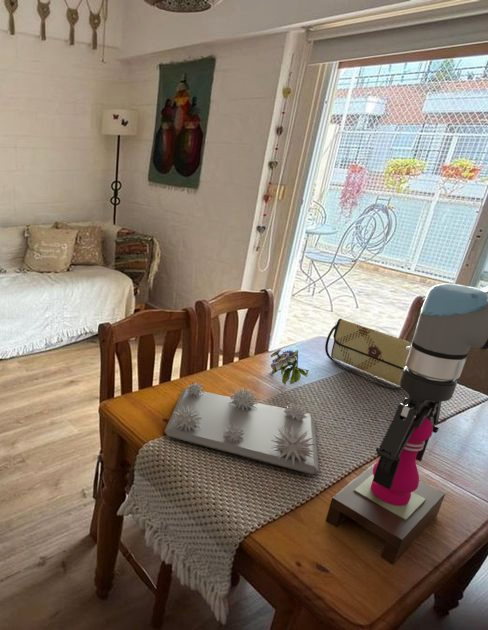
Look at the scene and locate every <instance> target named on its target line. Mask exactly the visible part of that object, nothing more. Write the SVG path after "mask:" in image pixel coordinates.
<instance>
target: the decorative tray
mask: <svg viewBox="0 0 488 630" xmlns="http://www.w3.org/2000/svg"><path fill="white" fill-rule="evenodd" d="M198 383H199V381H197V382H196V381H194V382H193V381H191V382H188V384H189V385H187V384H186V386H187V387H186V388H184V389H182V391H181V393H180V396H179V398H178V400H177V402H176V404H175V406H174V409H173V411H172V413H171V416H170V418H169V420H168V423H167V424H166V427H165V429H164V433H165V434H166V436H167V437H169V438H171V439H175V440H178V441H183V442H187V443H191V444H194V445H198V446H202V447H206V448H210V449H212V450H217V451H220V452H226V453H229V454H232V455H236V456H240V457H244V458H248V459H251V460H255V461H258V462H263V463H266V464H271V465H275V466H278V467H282V468H285V469H290V470H293V471H296V472H301V473H305V474H307V475H315V474H318V473H319V472H320V469H319V468H320V467H319V459H318V458H319V455H318V444H317V434H316V432H317V431H316V422H315V421H316V420H315V418H314V417H313V415H311V413H308V412H307V408H304V405H302V406H300V403H297V405H296V402H294V404H293V403H291V402H289V405H287V404H286V408H285V407H278V406H274V405H270V404H265V403H261V402H257V401H256V400H259V398H258V397H257V396H256V395H257V393H255V392H254V389H253V390H251V391H249V387H247V388H246V387H244V386H242V390H241V388H240V387H239V386H237V389H238V391H237V390H235V389H233V391H234V393H232V392H230V395H231V396H227V395H223V394H218V393H214V392H209V391H205V390H204V389H203V385H202V384H201V383H199V384H198ZM254 393H255V394H254Z"/></svg>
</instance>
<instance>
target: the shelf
mask: <svg viewBox="0 0 488 630" xmlns="http://www.w3.org/2000/svg"><path fill="white" fill-rule="evenodd" d="M375 464H376V462H374V463H373V464H371V465H370V466H369V467H368V468H367V469H365V470H364V471H363V472H362V473H360V474H359V475H358V476H357V477H356V478H354V479H353V480H351V481H350V482H349V483H348V484H347V485H346V486H344V487H343V488H341V490H340V491H338V492H336V494H334V495H333V496H332V497H331V500H330V503H329V508H328V511H327V515H326V518H325V521H326V522H327V523H329V524H330V525H331V526H333V527H335V528H337V527H338V526H339V525H340V524H341V523H343V521H345V520H346V519H347V518H350V519H351V520H352V521H354V522H356V523H358V524H360V525H361V526H363V527H364V528H366V529H367V530H369V531H371V532H372V533H374V534H376V535H377V536H379V537H381V538H382V539H383V540H385V543H384V547H383V549H382V553H381V556H380V557H381V558H382V559H383V560H385V561H387V562H388V563H390V564H391V565H395V563H397V561H398V560H399V559H400V558H401V557H402V556H403V554H404V553H406V552H407V550H408V549H409V548H410V547H411V546H412V545H413V543H414V542H415V541H416V540H417V539H418V538H419V536H421V534H422V533H423V532H424V531H425V530H426V529H427V528H428V527H429V525H431V524H432V522H433V521H434V520H435V519H436V518H437V516H438V514H439V512H440V509H441V508H442V504H443V501H444V499H445V496H446V492H444V491H442V490H440V489H439V488H437V487H435V486H432V485H431V484H429V483H427V482H424V481H423V480H420V479H419V484H418V488H417V489H416V490H415V491H413V492H411V497H410V500H409V503H408V504H406V505H403V506H397V505H392V504H389V503H387V502H384V501H383V500H381V499H379V498H378V497H377V496H375V495H374V493H373V492H372V490H371V484H372V481H373V478H374V475H373V468H374V465H375Z"/></svg>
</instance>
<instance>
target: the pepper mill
mask: <svg viewBox="0 0 488 630" xmlns="http://www.w3.org/2000/svg"><path fill="white" fill-rule="evenodd" d="M414 422H416V421H414ZM433 433H434V432H433V426H432V423H431V422H430V420H429V419H428V418H425V419H424V421H423V423H422V425H421V426H420V428H418V429H415V430H414V431H413V433H412V435H411V437H410V438H409V440H408V442H407V444H406V446H405V447H404V449H403V451H402V453H401V454H400V456H399V458H400V462H399V465H398V468H397V471H396V474H395V477H394V480H393V483H392V486H391V488H390V489H387V488H385V487H384V486H382V485H380V484H378V483H376V482H374V481H372V484H371V490H372V492H373V493H374V495H375V496H377V497H378V498H379V499H381V500H383V501H384V502H387V503H389V504H392V505H397V506H403V505H406V504H408V503H409V500H410V497H411V492H413V491H415V490H416V489H417V488H418V484H419V480H420V474H419V471H418V470H419V469H418V466H417V460H416V456H417V453H418V451H421V450H422V449H423V446H424V445H425V440H427V439H429V440H430V438H431V437H432V436H433ZM378 462H379V459H377V461H375V463H376V464H375V465H374V468H373V475H375V472H376V469H377V466H378Z"/></svg>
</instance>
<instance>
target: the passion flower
mask: <svg viewBox="0 0 488 630" xmlns="http://www.w3.org/2000/svg"><path fill="white" fill-rule="evenodd" d="M282 350H283V349H282V348H279V349H277V350H276V351H274V352H273V353H272V354H270V358H273V357H275V356H276V357H275V358H274V359H272V363H271V364H270V368H271V369H272V370H271V371H270V374H271V375H273V374H276V373H277V372H278V371H280V374H281V375H282V377H281V383H282V384H283V385H284V386H286V385H287V382H288V381H289V380H290V381H289V385H293V384H295V383H298V382H299V381H300V380H301V378H302V376H304V377H305V378H307V377H308V374H309V371H310V369H306V368H305V369H304V368H300V367H299V350H297V349H296V350H295V351H294V350H285V351H282ZM281 351H282V353H281ZM301 375H302V376H301Z"/></svg>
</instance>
